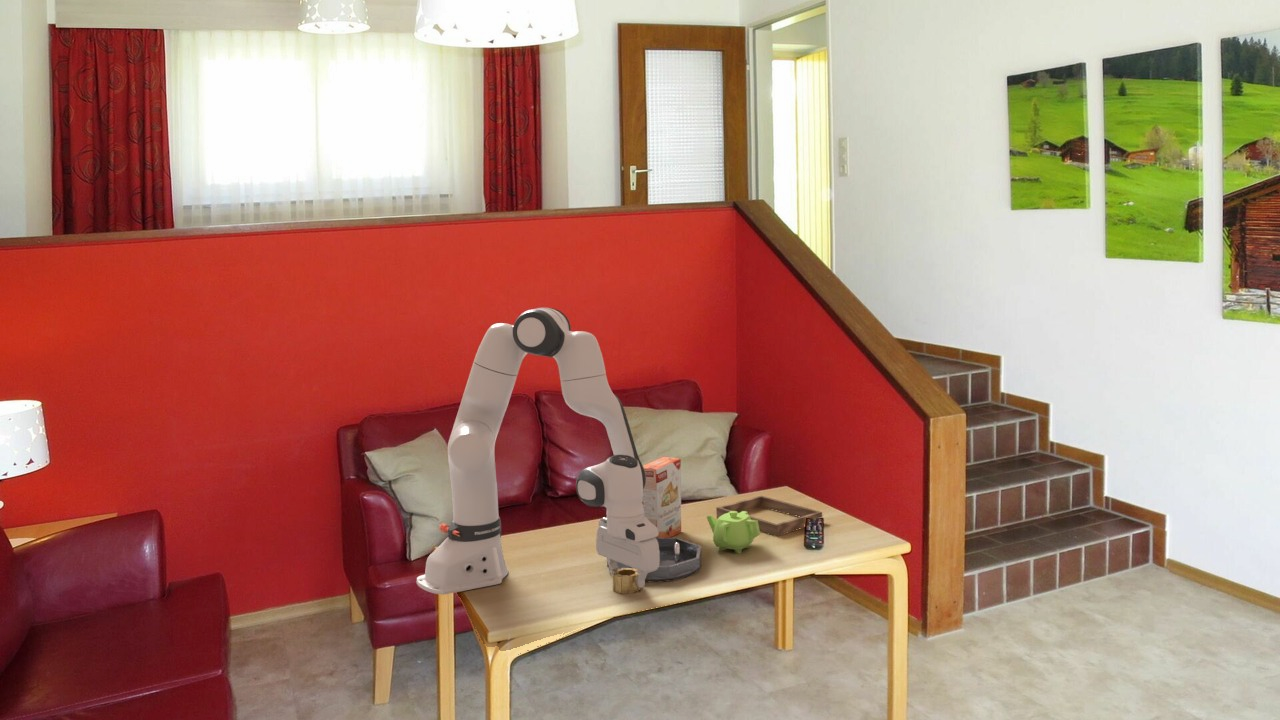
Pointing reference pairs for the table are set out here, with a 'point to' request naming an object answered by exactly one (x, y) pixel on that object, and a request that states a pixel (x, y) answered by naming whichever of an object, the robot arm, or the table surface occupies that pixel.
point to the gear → (625, 580)
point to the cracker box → (663, 495)
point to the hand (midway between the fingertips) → (627, 581)
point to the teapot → (734, 530)
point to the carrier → (674, 560)
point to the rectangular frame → (775, 505)
